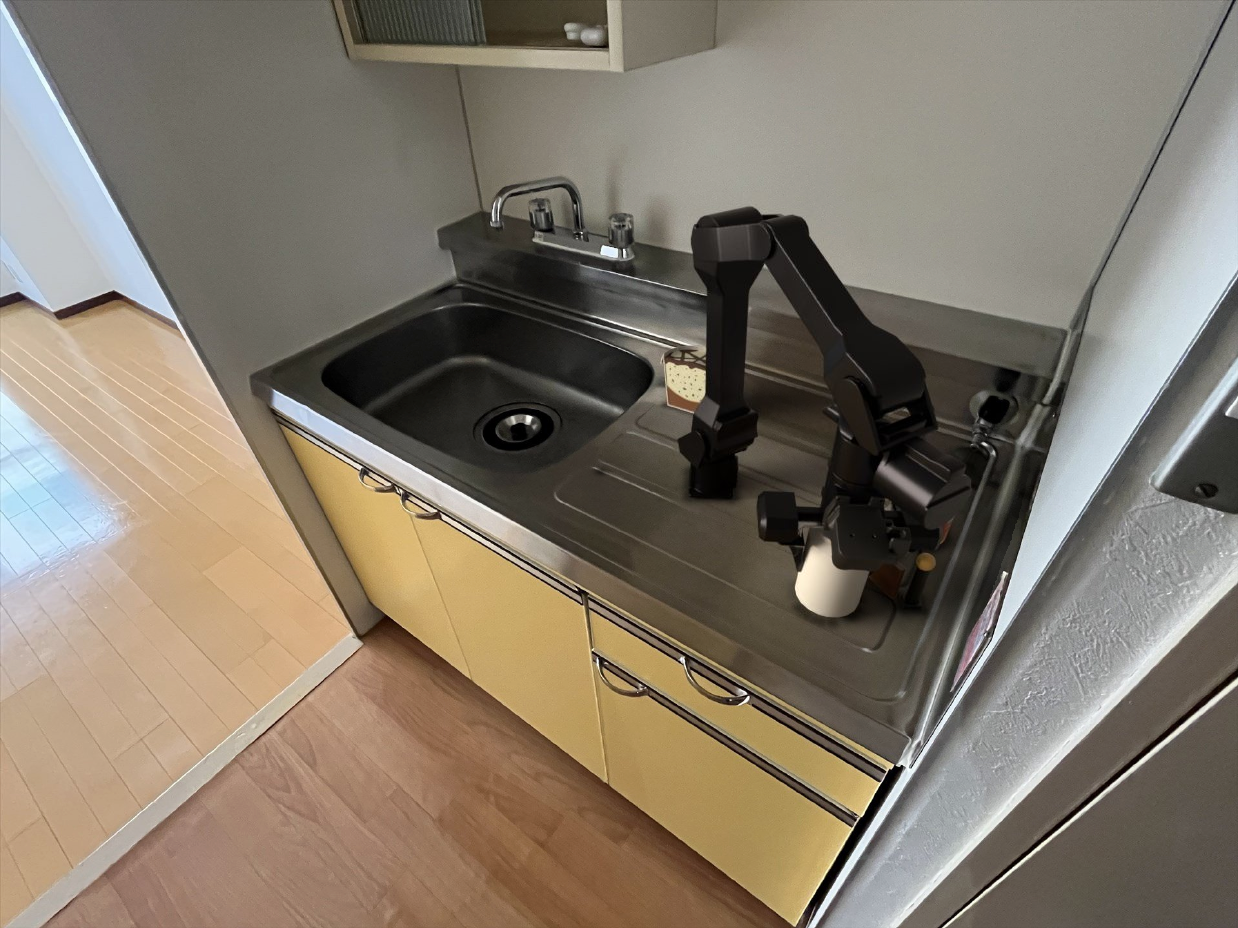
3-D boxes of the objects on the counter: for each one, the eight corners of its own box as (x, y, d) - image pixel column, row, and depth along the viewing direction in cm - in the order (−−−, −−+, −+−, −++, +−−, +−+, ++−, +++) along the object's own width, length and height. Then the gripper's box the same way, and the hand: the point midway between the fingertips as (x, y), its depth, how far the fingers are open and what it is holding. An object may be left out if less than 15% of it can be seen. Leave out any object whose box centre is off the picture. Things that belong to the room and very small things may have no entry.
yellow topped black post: (903, 609, 76) (921, 561, 71) (899, 596, 78) (916, 548, 73) (921, 610, 76) (940, 562, 71) (917, 597, 78) (935, 549, 73)
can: (859, 627, 74) (885, 555, 67) (793, 616, 76) (811, 544, 68) (855, 579, 80) (878, 507, 73) (793, 570, 82) (810, 499, 74)
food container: (738, 405, 112) (743, 354, 106) (723, 422, 108) (727, 370, 102) (676, 387, 118) (677, 337, 111) (660, 403, 114) (660, 352, 107)
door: (827, 534, 86) (833, 507, 83) (836, 531, 86) (843, 503, 83) (891, 599, 77) (900, 571, 74) (901, 595, 77) (911, 566, 74)
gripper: (770, 516, 60) (755, 621, 70) (980, 527, 58) (934, 633, 68) (763, 446, 69) (750, 547, 79) (945, 452, 67) (909, 556, 77)
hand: (832, 571), depth 75 cm, fingers closed on can, 7 cm apart
